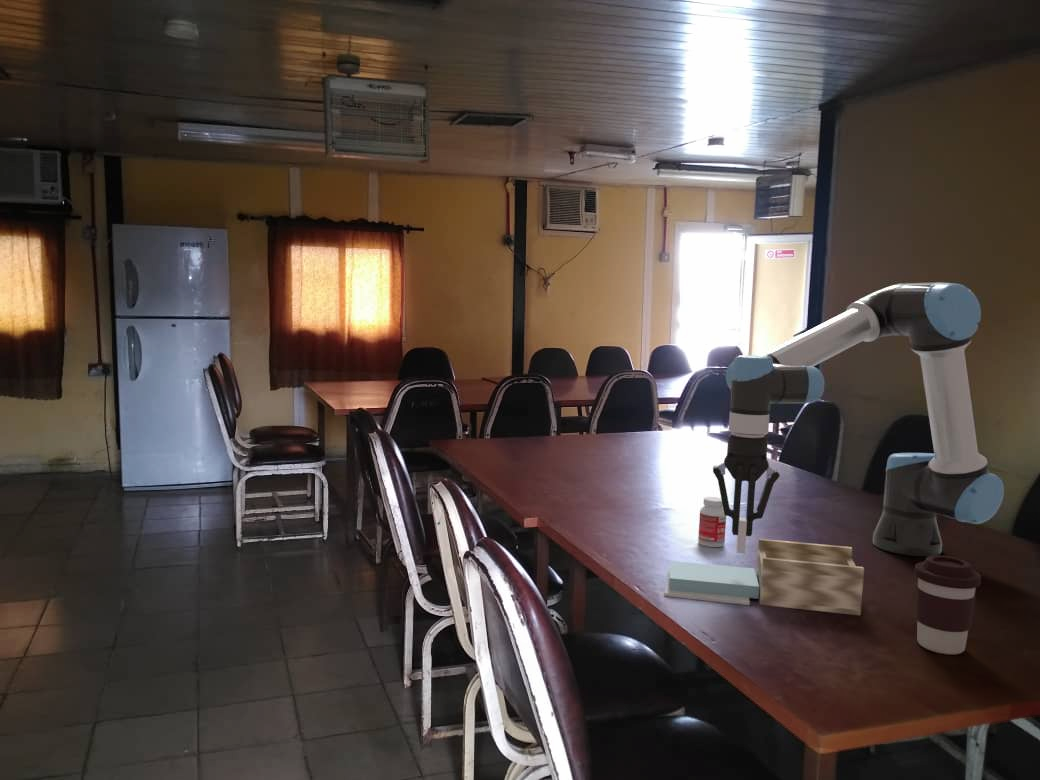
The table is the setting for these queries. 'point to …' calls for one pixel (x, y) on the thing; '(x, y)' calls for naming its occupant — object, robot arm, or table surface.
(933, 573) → the coffee cup
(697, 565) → the lid
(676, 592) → the mat
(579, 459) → the table surface
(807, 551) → the box
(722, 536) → the pill bottle
